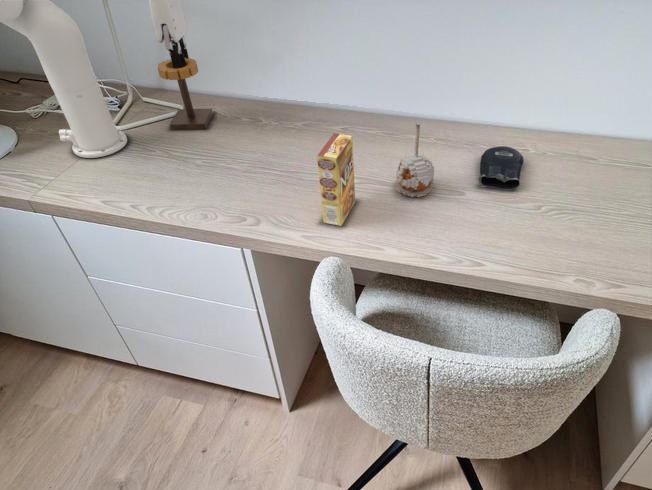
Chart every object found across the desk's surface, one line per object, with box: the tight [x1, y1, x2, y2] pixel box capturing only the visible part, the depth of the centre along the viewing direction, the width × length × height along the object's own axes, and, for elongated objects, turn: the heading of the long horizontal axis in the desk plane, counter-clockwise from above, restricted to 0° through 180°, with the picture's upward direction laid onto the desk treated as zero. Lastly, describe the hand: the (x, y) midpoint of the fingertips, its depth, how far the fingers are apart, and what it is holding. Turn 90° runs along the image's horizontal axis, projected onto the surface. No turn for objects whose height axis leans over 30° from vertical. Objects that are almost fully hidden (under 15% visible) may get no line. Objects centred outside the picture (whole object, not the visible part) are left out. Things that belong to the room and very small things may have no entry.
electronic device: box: [477, 145, 524, 191], centre depth 110 cm, size 9×6×15 cm
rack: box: [169, 78, 214, 131], centre depth 127 cm, size 9×9×12 cm
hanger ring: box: [157, 57, 199, 81], centre depth 122 cm, size 9×9×2 cm
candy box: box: [316, 133, 356, 227], centre depth 95 cm, size 9×4×15 cm, turn 162°
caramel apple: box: [395, 122, 435, 198], centre depth 101 cm, size 8×8×15 cm
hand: (182, 66), depth 125 cm, fingers closed on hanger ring, 2 cm apart
